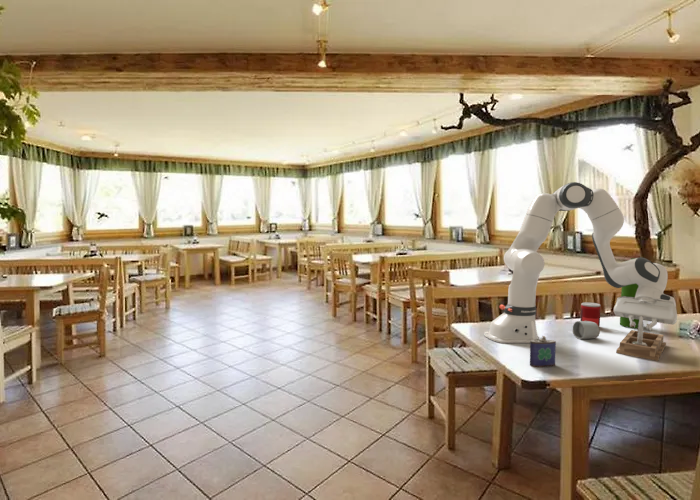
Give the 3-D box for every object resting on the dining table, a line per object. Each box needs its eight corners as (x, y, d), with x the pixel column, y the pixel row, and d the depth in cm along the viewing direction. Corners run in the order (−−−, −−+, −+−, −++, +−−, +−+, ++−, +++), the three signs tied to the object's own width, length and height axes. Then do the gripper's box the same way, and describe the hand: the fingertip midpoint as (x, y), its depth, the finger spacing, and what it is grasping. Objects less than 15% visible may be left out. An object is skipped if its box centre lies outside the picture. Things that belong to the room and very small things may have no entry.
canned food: (603, 328, 193) (604, 305, 192) (585, 328, 193) (586, 305, 192) (593, 324, 201) (594, 302, 200) (577, 324, 201) (578, 302, 200)
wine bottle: (641, 329, 192) (645, 260, 189) (618, 326, 197) (622, 258, 194) (642, 325, 199) (646, 258, 196) (620, 322, 204) (623, 257, 201)
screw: (641, 351, 157) (628, 347, 161) (649, 350, 158) (637, 346, 163) (643, 318, 156) (630, 315, 160) (652, 317, 157) (639, 314, 162)
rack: (657, 360, 151) (658, 349, 150) (616, 352, 159) (616, 342, 159) (666, 345, 168) (666, 335, 168) (628, 339, 177) (628, 329, 177)
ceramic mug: (601, 340, 176) (601, 322, 175) (583, 341, 174) (584, 323, 174) (583, 333, 186) (583, 316, 185) (567, 334, 185) (567, 317, 184)
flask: (552, 363, 148) (553, 334, 147) (557, 366, 145) (558, 337, 145) (528, 364, 148) (529, 335, 147) (532, 367, 145) (533, 337, 144)
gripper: (616, 290, 170) (607, 318, 165) (679, 298, 155) (671, 328, 149) (619, 300, 174) (611, 327, 168) (680, 308, 158) (673, 338, 153)
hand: (640, 327), depth 159 cm, fingers open, 4 cm apart
